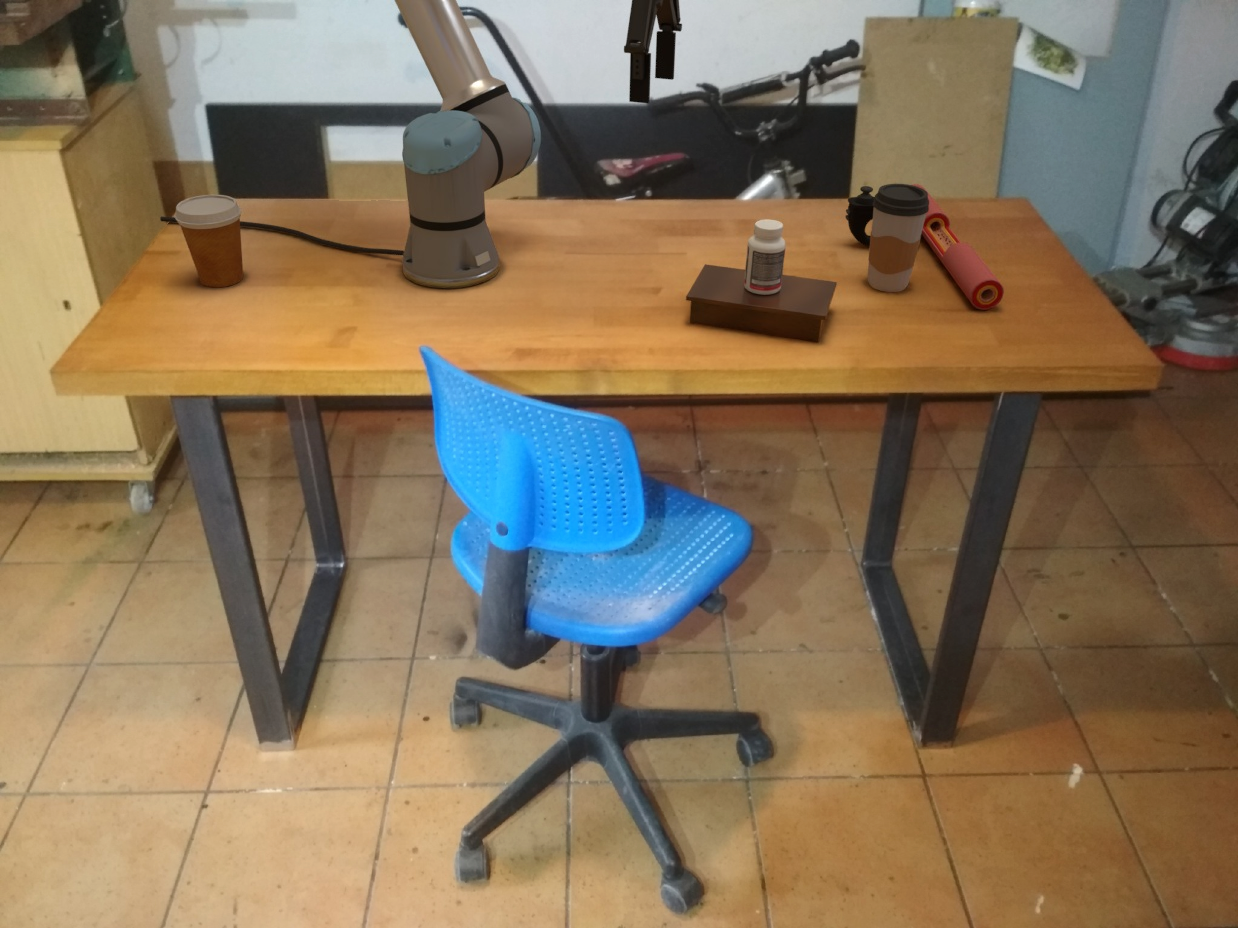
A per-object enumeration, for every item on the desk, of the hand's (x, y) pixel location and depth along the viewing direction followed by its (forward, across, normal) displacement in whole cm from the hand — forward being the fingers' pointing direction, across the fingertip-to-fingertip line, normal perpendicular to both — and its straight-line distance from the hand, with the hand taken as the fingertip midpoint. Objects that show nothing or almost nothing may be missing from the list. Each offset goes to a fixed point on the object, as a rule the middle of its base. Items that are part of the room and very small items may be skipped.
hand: (652, 90), depth 153 cm
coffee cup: (+29, +9, -37) cm, 48 cm away
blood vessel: (+29, +24, -45) cm, 59 cm away
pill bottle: (+24, -9, -20) cm, 33 cm away
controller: (+29, +25, -34) cm, 51 cm away
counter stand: (+29, -9, -20) cm, 36 cm away
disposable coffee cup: (+29, -23, +62) cm, 72 cm away
